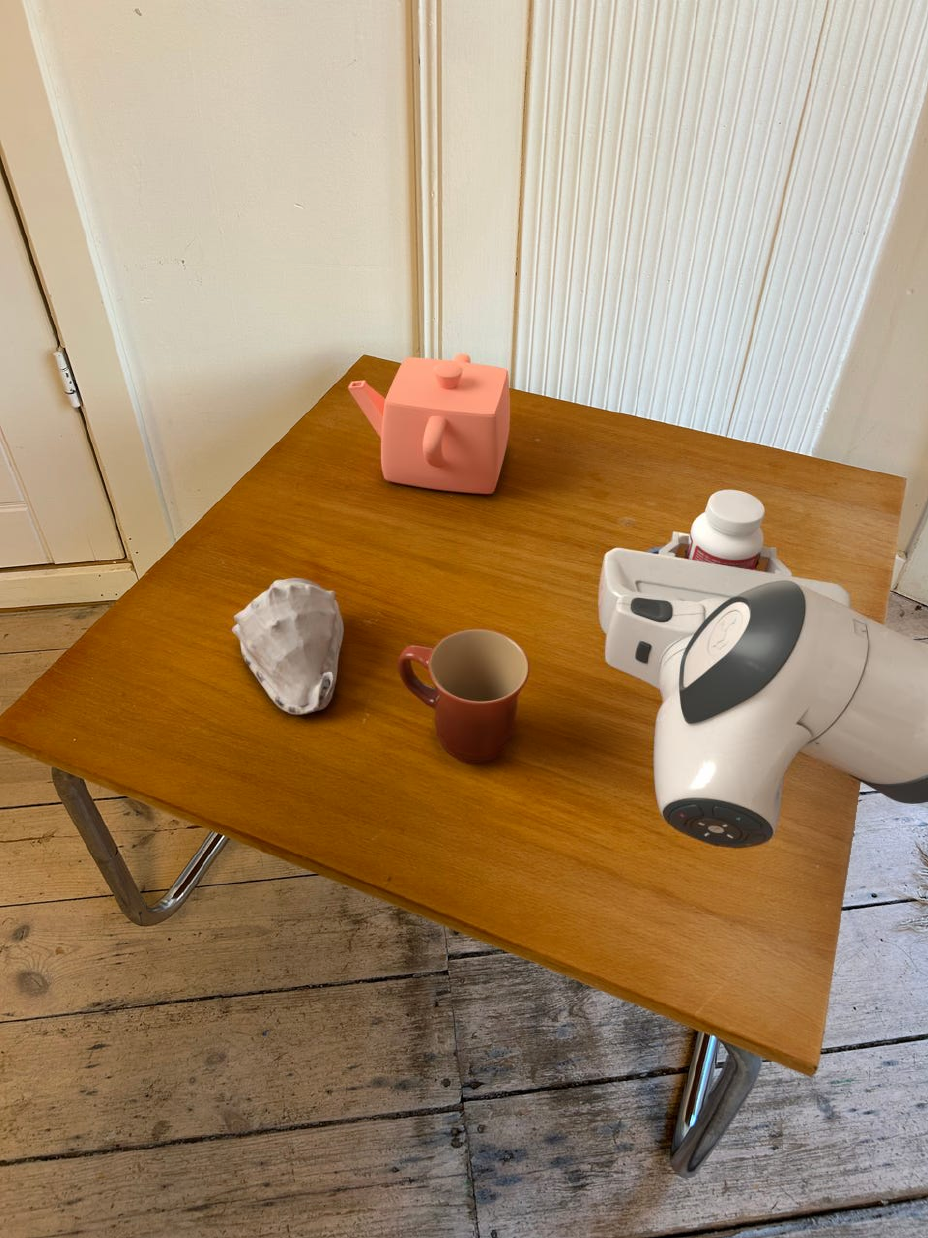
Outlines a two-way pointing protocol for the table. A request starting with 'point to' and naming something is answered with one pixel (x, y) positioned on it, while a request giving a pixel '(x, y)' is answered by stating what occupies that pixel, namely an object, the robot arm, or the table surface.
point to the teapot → (441, 423)
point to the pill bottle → (728, 531)
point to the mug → (470, 690)
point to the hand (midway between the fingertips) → (721, 544)
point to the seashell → (293, 643)
